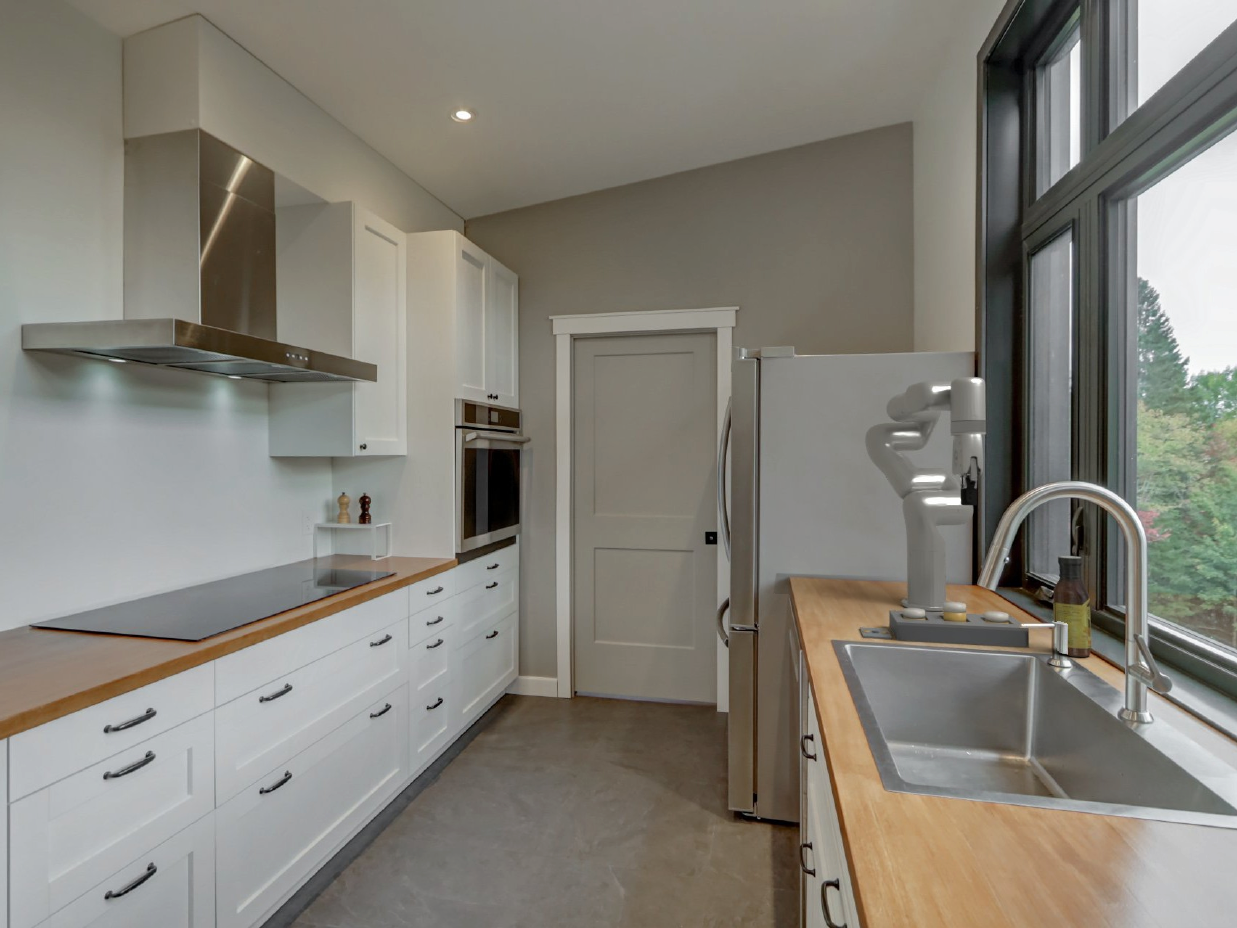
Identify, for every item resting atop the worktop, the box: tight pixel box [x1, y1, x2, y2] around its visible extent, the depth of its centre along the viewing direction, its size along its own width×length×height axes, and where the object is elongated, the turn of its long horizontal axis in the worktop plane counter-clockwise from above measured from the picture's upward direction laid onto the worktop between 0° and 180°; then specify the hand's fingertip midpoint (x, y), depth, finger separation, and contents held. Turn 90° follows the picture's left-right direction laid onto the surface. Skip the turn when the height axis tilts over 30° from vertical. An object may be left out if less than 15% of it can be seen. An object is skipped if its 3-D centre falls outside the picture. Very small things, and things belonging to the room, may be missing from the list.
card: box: [859, 626, 893, 640], centre depth 152 cm, size 8×6×1 cm
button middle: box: [942, 601, 967, 622], centre depth 149 cm, size 5×5×6 cm
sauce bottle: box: [1052, 555, 1092, 658], centre depth 135 cm, size 6×6×20 cm
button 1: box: [902, 607, 926, 620], centre depth 151 cm, size 5×5×6 cm
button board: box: [888, 609, 1030, 648], centre depth 149 cm, size 12×26×4 cm, turn 75°
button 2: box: [984, 610, 1009, 624], centre depth 147 cm, size 5×5×6 cm
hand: (968, 504), depth 159 cm, fingers closed
